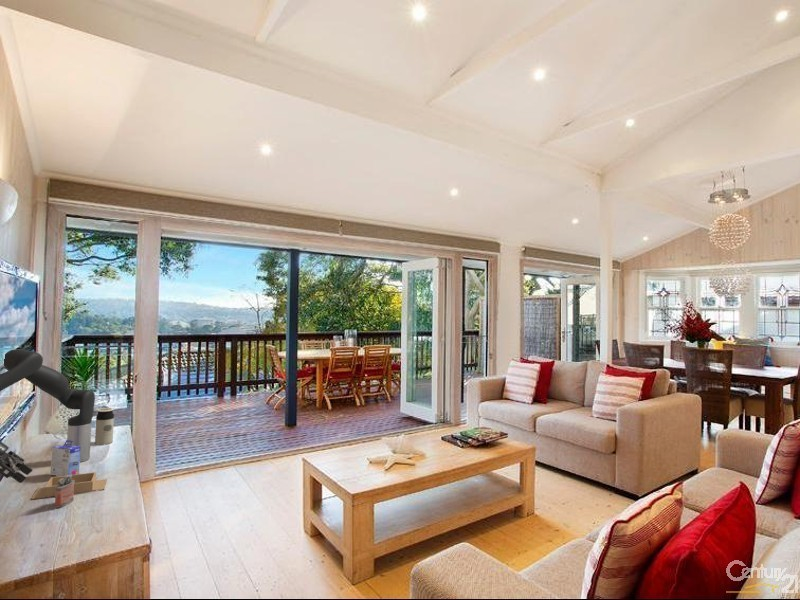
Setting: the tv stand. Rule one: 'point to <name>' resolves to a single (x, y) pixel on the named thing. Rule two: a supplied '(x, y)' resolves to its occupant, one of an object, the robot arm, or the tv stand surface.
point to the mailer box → (81, 485)
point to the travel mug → (104, 426)
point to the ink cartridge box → (65, 459)
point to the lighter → (64, 492)
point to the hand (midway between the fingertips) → (27, 476)
